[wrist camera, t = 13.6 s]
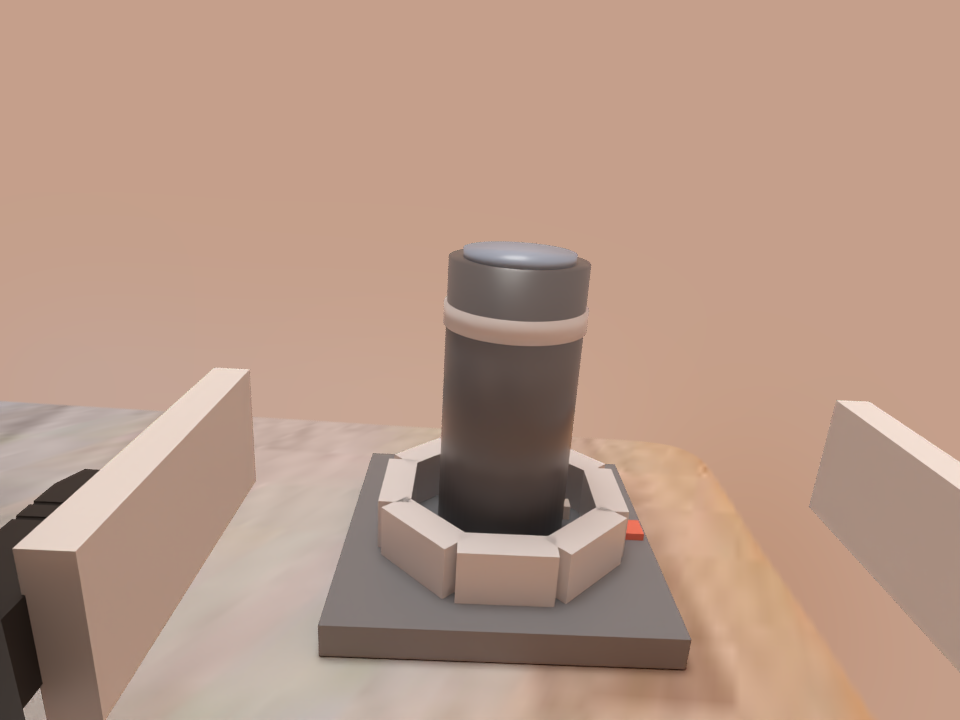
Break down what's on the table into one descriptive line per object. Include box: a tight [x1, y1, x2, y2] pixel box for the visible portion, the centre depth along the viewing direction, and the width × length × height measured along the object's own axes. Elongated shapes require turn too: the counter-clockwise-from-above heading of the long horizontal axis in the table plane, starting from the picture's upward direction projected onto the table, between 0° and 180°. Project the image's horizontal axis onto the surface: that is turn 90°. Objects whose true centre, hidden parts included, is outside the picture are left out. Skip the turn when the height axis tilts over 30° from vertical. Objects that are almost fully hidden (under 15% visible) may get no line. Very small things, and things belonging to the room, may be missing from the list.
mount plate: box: [318, 437, 691, 669], centre depth 26 cm, size 12×12×3 cm
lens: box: [438, 242, 591, 536], centre depth 25 cm, size 5×5×11 cm
